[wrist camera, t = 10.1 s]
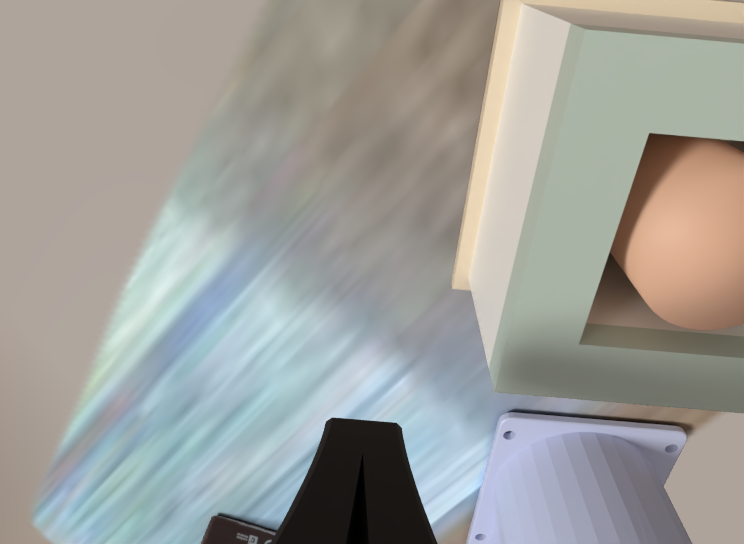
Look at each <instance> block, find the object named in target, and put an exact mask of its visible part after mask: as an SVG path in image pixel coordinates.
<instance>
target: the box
mask: <svg viewBox="0 0 744 544" xmlns="http://www.w3.org/2000/svg"><path fill="white" fill-rule="evenodd" d="M275 534H276V531H272V530H268V529H265V528H262V527H259V526H257V525H253V524H248V523H245V522H242V521H236V520H233V519H230V518H225V517H222V516H213V517H212V518H211V520H210V522H209V525H208V527H207V529H206V532H205V535H204V537H203V539H202V542H201V544H270V543H271V541H272V539H273V537H274V536H275Z"/></svg>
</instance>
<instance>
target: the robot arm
mask: <svg viewBox="0 0 744 544" xmlns="http://www.w3.org/2000/svg"><path fill="white" fill-rule="evenodd" d="M507 431H512V432H510V433H505V432H507ZM686 441H687V435H686V433H685V431H684V430H683V429H682V428H681V427H678V426H671V425H659V424H647V423H635V422H623V421H611V420H599V419H587V418H575V417H563V416H551V415H539V414H527V413H515V412H509V413H506V414H503V415H502V416H501V417H500V418H499V421H498V424H497V428H496V432H495V436H494V440H493V443H492V447H491V451H490V455H489V458H488V462H487V466H486V470H485V474H484V477H483V481H482V485H481V489H480V492H479V496H478V500H477V504H476V508H475V511H474V515H473V519H472V523H471V526H470V530H469V534H468V538H467V541H466V544H692V542H691V540H690V538H689V536H688V534H687V532H686V530H685V528H684V527H683V524H682V522H681V521H680V519H679V517H678V515H677V513H676V511H675V509H674V507H673V505H672V503H671V501H670V499H669V497H668V495H667V493H666V491H665V489H664V487H663V486H664V484H665V482H666V480H667V478H668V476H669V474H670V472H671V470H672V468H673V466H674V464H675V462H676V461H677V458H678V456H679V455H680V453H681V451H682V449H683V447H684V445H685V443H686ZM270 544H437V541H436V539H435V536H434V534H433V531H432V529H431V526H430V523H429V521H428V518H427V515H426V513H425V510H424V507H423V505H422V502H421V499H420V496H419V493H418V490H417V487H416V484H415V481H414V478H413V475H412V471H411V468H410V464H409V461H408V457H407V453H406V449H405V444H404V440H403V434H402V428H401V427H400V426H399V425H398V424H397V423H391V422H379V421H367V420H355V419H343V418H331V419H330V420H328V421H326V424H325V428H324V432H323V435H322V438H321V441H320V444H319V447H318V449H317V452H316V454H315V457H314V459H313V462H312V464H311V466H310V468H309V471H308V473H307V475H306V477H305V479H304V481H303V483H302V485H301V487H300V489H299V491H298V493H297V495H296V497H295V499H294V501H293V503H292V505H291V507H290V509H289V511H288V513H287V515H286V517H285V518H284V520H283V522H282V524H281V525H280V527H279V529H278V531H277V532H276V534H275V536H274V537H273V539H272V541H271V543H270Z"/></svg>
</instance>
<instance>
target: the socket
mask: <svg viewBox="0 0 744 544" xmlns="http://www.w3.org/2000/svg"><path fill="white" fill-rule="evenodd" d="M649 133H655V134H667V135H678V136H689V137H701V138H712V139H721V140H723V141H724V142H726V143H728V144H729V145H731V146H733V147H735V148H736V149H738V150H740V151H742V152H743V153H744V3H743V2H732V1H721V0H501V3H500V9H499V14H498V20H497V26H496V31H495V37H494V43H493V48H492V54H491V60H490V65H489V71H488V77H487V82H486V88H485V94H484V99H483V105H482V111H481V116H480V122H479V128H478V133H477V139H476V145H475V150H474V156H473V162H472V168H471V173H470V179H469V185H468V190H467V196H466V202H465V207H464V213H463V219H462V224H461V230H460V236H459V241H458V247H457V253H456V258H455V264H454V270H453V275H452V281H451V282H452V288H453V289H461V290H471V292H472V296H473V300H474V305H475V309H476V314H477V318H478V322H479V327H480V331H481V336H482V340H483V345H484V349H485V353H486V358H487V362H488V367H489V371H490V375H491V380H492V384H493V389H494V392H497V393H509V394H521V395H533V396H545V397H557V398H569V399H580V400H592V401H604V402H616V403H628V404H640V405H652V406H664V407H676V408H688V409H700V410H712V411H724V412H735V413H744V324H741V325H738V326H734V327H730V328H724V329H717V330H695V329H687V328H683V327H679V326H676V325H674V324H671V323H669V322H667V321H666V320H664V319H662V318H661V317H659V316H658V315H657V314H656V313H654V312H653V311H652V309H651V308H650V307H649V306H648V305H647V303H646V302H645V301H644V299H643V298H642V296H641V295H640V294H639V292H638V291H637V289H636V288H635V287H634V285H633V284H632V282H631V281H630V280H629V278H628V277H627V275H626V274H625V273H624V271H623V270H622V268H621V267H620V266H619V264H618V263H617V261H616V260H615V259H614V257H613V256H612V254H611V253H610V249H611V246H612V243H613V240H614V237H615V234H616V231H617V228H618V225H619V222H620V219H621V216H622V213H623V210H624V207H625V204H626V201H627V198H628V195H629V192H630V189H631V186H632V183H633V180H634V177H635V174H636V171H637V168H638V165H639V162H640V159H641V156H642V153H643V150H644V147H645V144H646V141H647V138H648V135H649Z"/></svg>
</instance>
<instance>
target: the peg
mask: <svg viewBox="0 0 744 544" xmlns="http://www.w3.org/2000/svg"><path fill="white" fill-rule="evenodd" d="M610 253H611V254H612V256H613V257H614V259H615V260H616V261H617V263H618V264H619V266H620V267H621V268H622V270H623V271H624V273H625V274H626V275H627V277H628V278H629V280H630V281H631V282H632V284H633V285H634V287H635V288H636V289H637V291H638V292H639V294H640V295H641V296H642V298H643V299H644V301H645V302H646V303H647V305H648V306H649V307H650V308H651V309H652V311H653V312H654V313H656V314H657V315H658V316H659V317H661V318H662V319H664V320H666V321H667V322H669V323H671V324H674V325H676V326H679V327H683V328H687V329H695V330H717V329H724V328H730V327H734V326H738V325H741V324H744V153H743V152H742V151H740V150H738V149H736V148H735V147H733V146H731V145H729V144H728V143H726V142H724V141H723V140H721V139H712V138H701V137H689V136H678V135H667V134H655V133H649V135H648V138H647V141H646V144H645V147H644V150H643V153H642V156H641V159H640V162H639V165H638V168H637V171H636V174H635V177H634V180H633V183H632V186H631V189H630V192H629V195H628V198H627V201H626V204H625V207H624V210H623V213H622V216H621V219H620V222H619V225H618V228H617V231H616V234H615V237H614V240H613V243H612V246H611V249H610Z"/></svg>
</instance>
